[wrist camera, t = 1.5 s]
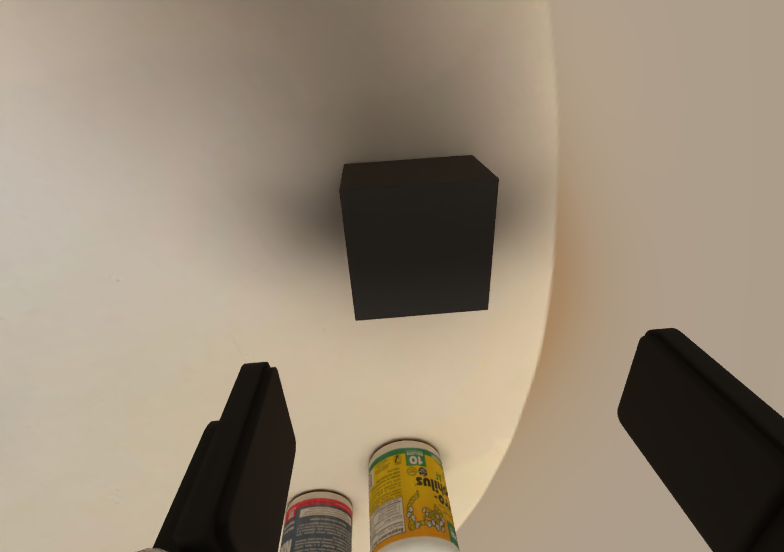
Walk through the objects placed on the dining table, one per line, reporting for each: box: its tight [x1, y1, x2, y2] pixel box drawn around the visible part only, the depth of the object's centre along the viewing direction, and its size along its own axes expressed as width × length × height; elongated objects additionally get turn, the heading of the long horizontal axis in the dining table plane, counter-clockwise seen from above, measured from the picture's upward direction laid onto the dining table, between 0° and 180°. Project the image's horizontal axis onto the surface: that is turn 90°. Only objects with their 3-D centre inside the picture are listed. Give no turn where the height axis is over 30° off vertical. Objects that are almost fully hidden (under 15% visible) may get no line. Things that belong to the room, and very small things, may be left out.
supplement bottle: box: [369, 440, 459, 552], centre depth 24 cm, size 5×5×10 cm
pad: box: [339, 155, 499, 321], centre depth 18 cm, size 6×6×4 cm
